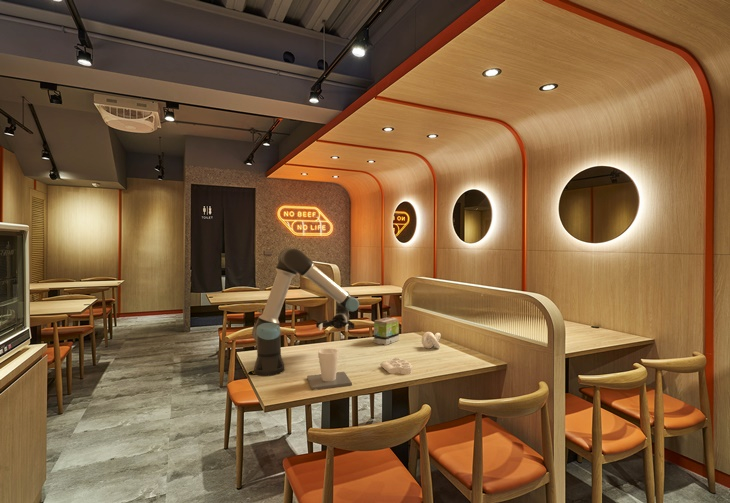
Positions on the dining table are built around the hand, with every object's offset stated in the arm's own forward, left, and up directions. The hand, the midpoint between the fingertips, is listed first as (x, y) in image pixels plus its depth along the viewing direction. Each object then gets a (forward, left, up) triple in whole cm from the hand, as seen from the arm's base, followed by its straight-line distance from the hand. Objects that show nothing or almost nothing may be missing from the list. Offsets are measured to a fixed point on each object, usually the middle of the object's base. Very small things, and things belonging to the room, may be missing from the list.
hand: (332, 328), depth 193 cm
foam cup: (-5, -15, -20) cm, 26 cm away
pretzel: (+65, +23, -21) cm, 72 cm away
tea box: (+44, +45, -21) cm, 66 cm away
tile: (-5, -15, -21) cm, 27 cm away
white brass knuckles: (+32, -9, -22) cm, 39 cm away
